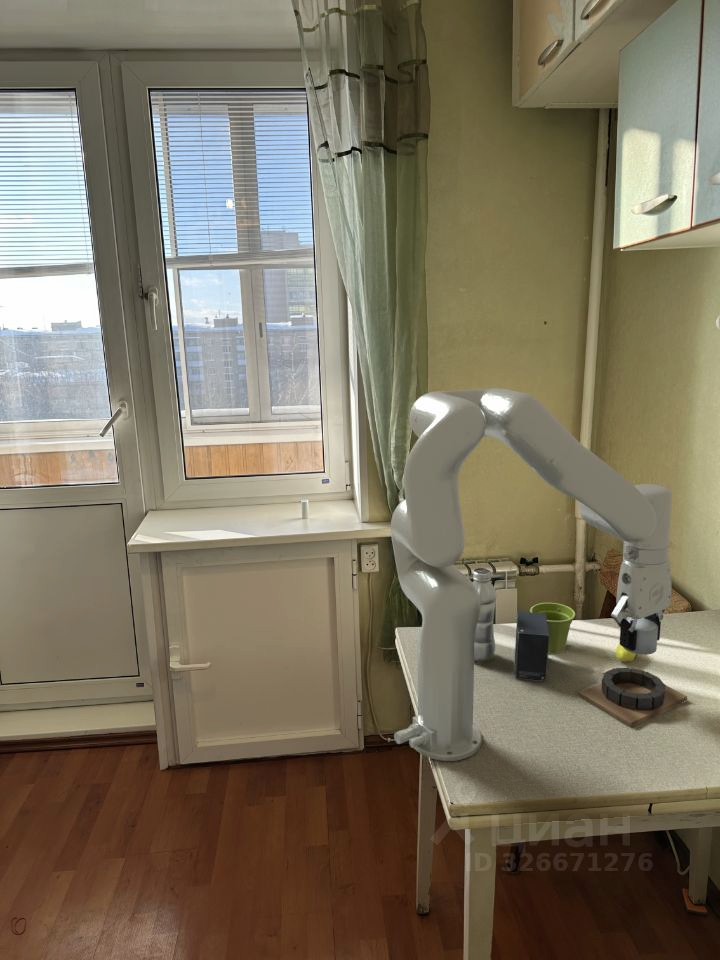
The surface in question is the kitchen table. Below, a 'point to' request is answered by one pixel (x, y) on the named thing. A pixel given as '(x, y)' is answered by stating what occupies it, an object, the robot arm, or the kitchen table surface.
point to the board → (625, 714)
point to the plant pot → (556, 624)
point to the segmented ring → (632, 699)
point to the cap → (645, 637)
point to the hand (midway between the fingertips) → (639, 641)
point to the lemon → (624, 654)
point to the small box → (531, 646)
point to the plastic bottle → (484, 615)
